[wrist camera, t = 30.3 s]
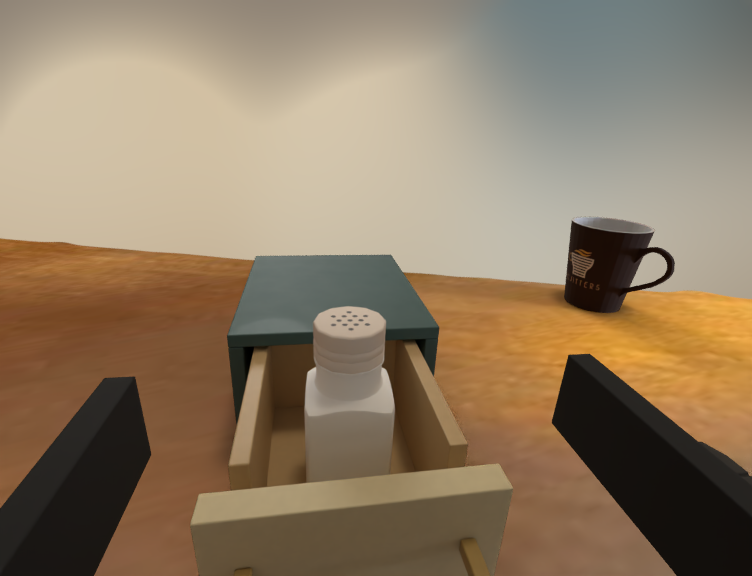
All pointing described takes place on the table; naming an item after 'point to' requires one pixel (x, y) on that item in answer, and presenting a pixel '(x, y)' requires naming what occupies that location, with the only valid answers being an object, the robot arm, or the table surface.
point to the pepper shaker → (348, 398)
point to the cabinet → (322, 305)
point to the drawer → (350, 487)
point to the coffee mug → (607, 262)
